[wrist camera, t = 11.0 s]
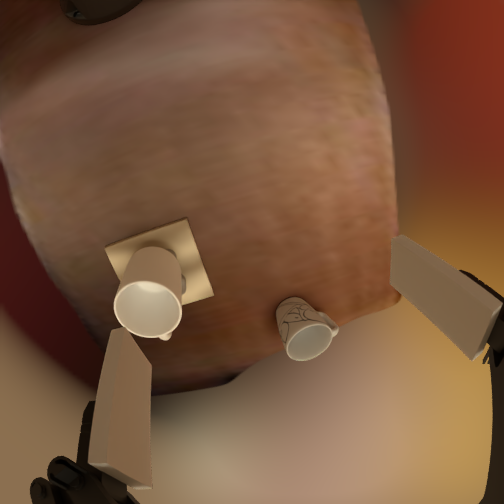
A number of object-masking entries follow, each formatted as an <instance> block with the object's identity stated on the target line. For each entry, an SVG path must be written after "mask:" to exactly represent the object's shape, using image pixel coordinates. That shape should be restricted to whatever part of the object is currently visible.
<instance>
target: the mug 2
mask: <svg viewBox="0 0 504 504" xmlns="http://www.w3.org/2000/svg"><path fill="white" fill-rule="evenodd" d="M276 319H277V324H278V329H279V333H280V336H281V339H282V342H283V345H284V347H285V350H286V352H287V354H288V356H289V357H290V358H292V359H294V360H297V361H305V360H309V359H312V358H315V357H316V356H318V355H320V354H321V353H322V352H323V351H325V350H326V349H327V347H328V346H329V345H330V343H331V340H332V337H333V336H335V335H336V334H337V333H338V330H339V327H338V326H337V324H336V323H335V322H334V321H333V320H332V319H330V318H329V317H328V316H327V315H326V314H325V313H323V312H316V311H315V310H314V309H313V308H312V307H311V306H310V305H309V304H308V303H307V302H305V301H304V300H303V299H301V298H298V297H291V298H288V299H286V300H284V301H283V302H281V303H280V305H279V306H278V308H277V310H276Z"/></svg>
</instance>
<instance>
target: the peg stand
mask: <svg viewBox="0 0 504 504" xmlns="http://www.w3.org/2000/svg"><path fill="white" fill-rule="evenodd" d="M145 247H160V248H163V249H165V250H167V251H169V252H170V253H172V254H173V255H174V256H175V258H176V259H177V261H178V262H179V265H180V268H181V284H182V305H184V304H187V303H191V302H194V301H197V300H200V299H204V298H207V297H210V296H213V295H214V292H213V289H212V287H211V284H210V281H209V279H208V276H207V273H206V270H205V268H204V265H203V262H202V259H201V257H200V254H199V251H198V248H197V245H196V243H195V240H194V237H193V234H192V231H191V228H190V225H189V222H188V219H187V217H186V218H183V219H180V220H177V221H174V222H171V223H168V224H165V225H162V226H159V227H157V228H154V229H151V230H148V231H145V232H142V233H139V234H137V235H134V236H131V237H128V238H126V239H123V240H120V241H117V242H115V243H112V244H109V245H107V246H105V248H104V249H105V251H106V253H107V255H108V257H109V260H110V262H111V264H112V266H113V268H114V270H115V272H116V274H117V276H118V278H119V280H120V282H121V280H122V277H123V274H124V272H125V269H126V266H127V264H128V262H129V260H130V258H131V257H132V256H133V254H134V253H136V252H137V251H138V250H140V249H142V248H145Z"/></svg>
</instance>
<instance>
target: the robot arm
mask: <svg viewBox="0 0 504 504" xmlns="http://www.w3.org/2000/svg"><path fill="white" fill-rule="evenodd" d="M141 1H142V0H60V6H61V9H62V11H63V13H64V14H65V15H66V16H67V17H68V18H69V19H70V20H71V21H73V22H75V23H78V24H82V25H94V24H100V23H104V22H107V21H110V20H113V19H115V18H117V17H119V16H121V15H123V14H125V13H126V12H128V11H130V10H131V9H132V8H134V7H135V6H136V5H137V4H139V3H140V2H141ZM390 285H392V286H393V287H394V288H395V289H396V290H397V291H398V292H400V293H401V294H402V295H403V296H404V297H405V298H406V299H408V300H409V301H410V302H411V303H412V304H413V305H414V306H415V307H416V308H417V309H418V310H420V311H421V312H422V313H423V314H424V315H425V316H426V317H427V318H428V319H429V320H430V321H431V322H432V323H433V324H435V325H436V326H437V327H438V328H439V329H440V330H441V331H442V332H443V333H444V334H445V335H446V336H447V337H448V338H449V339H450V340H451V341H452V342H453V343H454V344H455V345H456V346H457V347H458V348H459V349H460V350H461V351H462V352H463V353H464V354H465V355H466V356H467V357H468V358H469V359H470V360H471V361H473V360H474V359H475V358H476V357H477V356H479V355H480V354H481V353H482V351H483V349H484V347H485V345H486V343H488V344H489V345H490V347H489V349H488V351H487V353H486V355H485V357H484V359H483V364H485V362H486V360H487V358H488V357H489V361H488V364H490V370H491V383H492V399H493V400H492V405H493V424H492V425H493V426H492V444H491V456H490V466H489V472H488V479H487V485H486V490H485V494H484V497H483V499H482V500H481V501H480V503H479V504H504V298H503V297H502V296H501V295H500V294H498V293H497V292H495V291H494V290H493V289H492V288H490V287H489V286H488V285H485V284H484V283H483V282H482V281H480V280H478V278H476V277H475V276H474V275H472V274H471V273H468V272H466V271H463V270H457V269H456V268H454V267H453V266H451V265H450V264H448V263H447V262H445V261H444V260H442V259H441V258H439V257H437V256H436V255H435V254H433V253H431V252H430V251H428V250H427V249H425V248H424V247H422V246H420V245H419V244H417V243H415V242H414V241H412V240H411V239H409V238H407V237H406V236H404V235H400V236H397V237H395V238H392V239H391V271H390ZM151 372H152V366H151V364H150V363H149V361H148V360H147V358H146V357H145V356H144V354H143V353H142V351H141V350H140V348H139V347H138V345H137V344H136V342H135V341H134V339H133V338H132V336H131V335H130V333H129V331H128V330H127V328H126V327H122V328H118V329H114V330H112V331H111V334H110V338H109V342H108V346H107V350H106V354H105V359H104V363H103V367H102V372H101V377H100V381H99V387H98V392H97V397H96V401H89V403H88V405H87V407H86V409H85V410H84V413H83V418H82V425H81V433H80V437H79V444H78V453H77V461H76V463H75V462H73V461H72V460H70V459H69V458H67V457H64V456H57V457H56V458H54V459H53V460H52V461H51V462H50V464H49V466H48V469H47V476H48V479H49V481H48V480H46V479H44V478H42V477H39V478H36V479H34V480H33V482H32V483H31V486H30V495H31V499H32V503H33V504H140V503H139V502H138V501H137V500H136V499H135V498H134V497H133V496H132V495H131V494H130V493H129V492H128V491H127V485H128V486H130V487H132V488H134V489H152V488H153V485H152V470H151V446H150V398H151Z"/></svg>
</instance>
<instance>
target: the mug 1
mask: <svg viewBox="0 0 504 504" xmlns="http://www.w3.org/2000/svg"><path fill="white" fill-rule="evenodd" d="M114 311H115V315H116V317H117V319H118V321H119V322H120V323H121V325H122V326H123V327H126V328H127V330H128V331H130V332H132V333H133V334H136V335H138V336H142V337H149V338H155V337H159V338H160V339H162V340H168V339H169V338H170V337H171V335H172V331H173V330H174V329H175V328H176V327H177V326H178V324H179V322H180V320H181V316H182V284H181V268H180V265H179V262H178V261H177V259H176V258H175V256H174V255H173V254H172V253H170V252H169V251H167V250H165V249H163V248H160V247H145V248H142V249H140V250H138V251H137V252H136V253H134V254H133V256H132V257H131V258H130V260H129V262H128V264H127V266H126V269H125V272H124V274H123V277H122V280H121V283H120V285H119V288H118V291H117V294H116V297H115V300H114Z"/></svg>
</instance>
